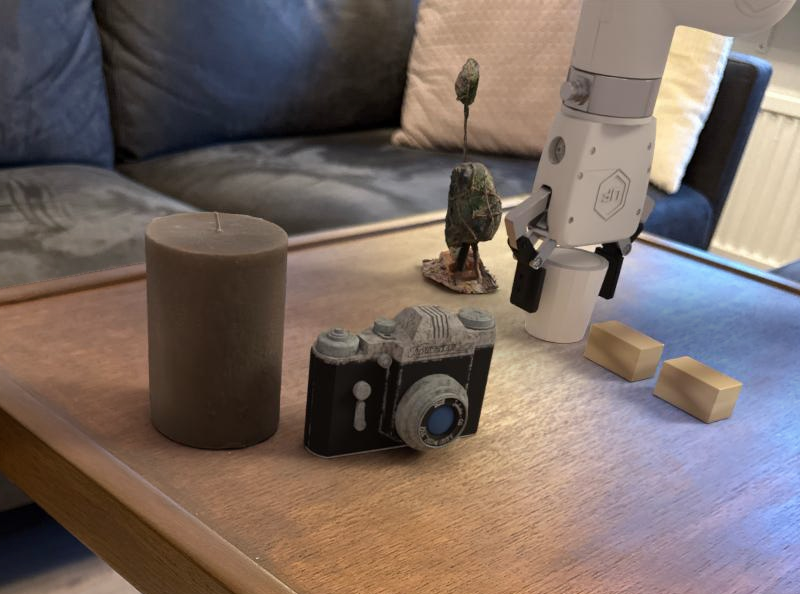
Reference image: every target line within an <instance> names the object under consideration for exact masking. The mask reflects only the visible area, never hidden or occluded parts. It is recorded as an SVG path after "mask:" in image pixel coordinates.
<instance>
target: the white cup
mask: <svg viewBox="0 0 800 594" xmlns="http://www.w3.org/2000/svg"><path fill="white" fill-rule="evenodd" d="M537 249H538V248H535V250H537ZM608 266H609V262H608V261H607V260H606V259H605V258H604V257H602V256H600V255H598V254H596V253H594V251H590V250H586V249H583V248H580V247H574V248H565V247H562V246H559V245H557V246H556V248H555V249H554V250H553V251H552V253H551V254H550V255H549V257H548V258H547V259H546V261H545V262H544V263H543V265H542V266H541V267H543V268H545V269H546V275H545V280H544V284H543V289H542V293H541V298H540V302H539V307H538V310H537V312H535V313H528V312H526V313H525V314H526V315H525V325H524V329H525V331H526V332H527V333H528V334H529V335H531V336H533V337H534V338H536V339H539V340H543V341H546V342H550V343H557V344H572V343H577V342H580V341H582V340H583V339H584V336H585V333H586V331H587V328H588V325H589V322H590V319H591V317H592V314H593V311H594V307H595V305H596V303H597V300H598V297H599V296H598V294H599V291H600V289H601V286H602V283H603V280H604V277H605V275H606V272H607V269H608Z"/></svg>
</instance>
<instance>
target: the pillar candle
mask: <svg viewBox="0 0 800 594" xmlns="http://www.w3.org/2000/svg"><path fill="white" fill-rule="evenodd" d="M288 248H289V235H288V233H287V232H286V230H285V229H284V228H282V227H280V226H279V225H278V224H275V223H274V222H272V221H271V222H270V221H268V220H265V219H264V218H262V217H254V216H252V215H247V214H240V213H239V214H238V213H234V214H233V213H228V212H226V213H225V212H217V211H215V210H214V211H196V212H182V213H180V212H179V213H173V214H170V215H164V216H158V217H154V218H152V219H151V220H150V222H148V224H147V225H146V226H145V228H144V254H145V255H144V256H145V276H146V277H145V279H146V282H145V283H146V314H147V315H146V317H147V319H146V320H147V347H148V349H147V359H148V360H147V362H148V392H149V404H150V405H149V408H150V411H149V413H150V420H151V421H152V424H153V426H154V427H155V429H157V430H158V431H159V432H160V433H162V434H163V435H164V436H166V437H167V438H168V439H171V440H173V441H174V442H177V443H179V444H183V445H186V446H190V447H194V448H197V449H198V448H201V449H213V450H214V449H215V450H220V449H231V448H232V449H233V448H234V449H238V448H246V447H252V446H254V445H256V444H258V443H260V442H262V441H264V440H266V439H268V438H269V437H271V436H272V435H273V434H275V433H276V431H277V429H278V427H279V425H280V414H281V396H282V395H281V394H282V393H281V392H282V375H283V359H284V357H283V356H284V334H285V317H286V315H285V314H286V297H287V296H286V295H287V293H286V292H287V276H288V251H289V249H288Z"/></svg>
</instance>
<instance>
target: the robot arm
mask: <svg viewBox="0 0 800 594" xmlns="http://www.w3.org/2000/svg"><path fill="white" fill-rule="evenodd" d="M796 2H797V0H582V3H581V9H580V13H579V18H578V23H577V28H576V32H575V37H574V42H573V47H572V52H571V56H570V60H569V61H570V62H569V67H568V72H567V75H566V81H564V82H563V83H562V84H561V86H560V89H559V96H560V98H561V104H560V110H557V111H556V112H555V116H554V118H553V121H552V123H551V125H550V129H549V131H548V134H547V137H546V140H545V143H544V146H543V150H542V153H541V155H540V158H539V162H538V165H537V169H536V174H535V178H534V182H533V185H532V190H531V195H530V196H528V197H527V198H526V199H524V200H522V201H521V202H520V203H519V204H517V205H516V206H515V207H513V208H512V209H511V210H509V211H508V212H507V213H506V214H505V216H504V219H503V220H504V221H503V222H504V226H505V231H506V236H507V240H506V243H507V246H508V247H509V249H510V251H511V252H512V259H513V260H515V261H516V266H515V270H514V277H513V280H512V285H511V291H510V296H509V303H510V304H511V305H514V306H515V307H517V308H519V309H520V310H522V311H524V312H526V313H527V312H528V313H535V312H537V310H538V307H539V302H540V298H541V293H542V289H543V284H544V280H545V275H546V269H545V268H543V267H541V266H542V265H543V263H544V262H545V261H546V259H547V258H548V257H549V255H550V254H551V253H552V251H553V250H554V249H555V248H556V246H562V247H565V248H581V247H588V246H595V245H601V246H595V248H594V251H593V252H594V253H596V254H598V255H600V256H602V257H604V258H605V259H606V260H607V261H608V262H609V266H608V269H607V272H606V275H605V277H604V280H603V283H602V286H601V289H600V291H599V294H598V297H600V298H601V299H604V300H613V298H614V297H615V294H616V289H617V286H618V282H619V279H620V276H621V275H620V274H621V272H622V268H623V265H624V260H625V257H626V256H629V255H630V253H631V251H632V249H633V245H632V244H633V243H634V242H635V241H636V239H638V237H639V236H640V235H641V234H642V232H643V230H644V224H646V222H647V220H648V219H649V217H650V215H651V214H652V212H653V210H654V209H655V206H656V201H655V200H654V199H653V198H652V197H651V196H650V195H649V194H647V193H648V188H649V183H650V177H651V172H652V167H653V162H654V161H653V160H654V156H655V155H654V154H655V148H656V147H655V146H656V137H657V118H656V116H655V115H653V114H654V111H655V108H656V103H657V99H658V97H659V96H658V95H659V92H660V88H661V84H662V81H663V76H664V73H665V69H666V66H667V62H668V59H669V55H670V50H671V47H672V43H673V39H674V35H675V31H676V28H677V27H679V26H683V27H687V28H692V29H697V30H700V31H704V32H707V33H710V34H711V33H712V34H715V35H718V36H722V37H727V38H744V37H751V36H754V35H757V34H760V33H762V32H765V31H766V30H768V29H771V28H772V27H773V26H775V25H776V24H777V23H779V22H780V21H781V20H782V19H783V18H784V17H785V16H787V14H788V13H789V12H790V11H791V10H792V8H793V6H794V5H795V3H796ZM539 240H540V241H542V242H540V245H539V246H538V247H537V248H535V246H536V244H537V243H538V242H539ZM536 249H537V250H536Z"/></svg>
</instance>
